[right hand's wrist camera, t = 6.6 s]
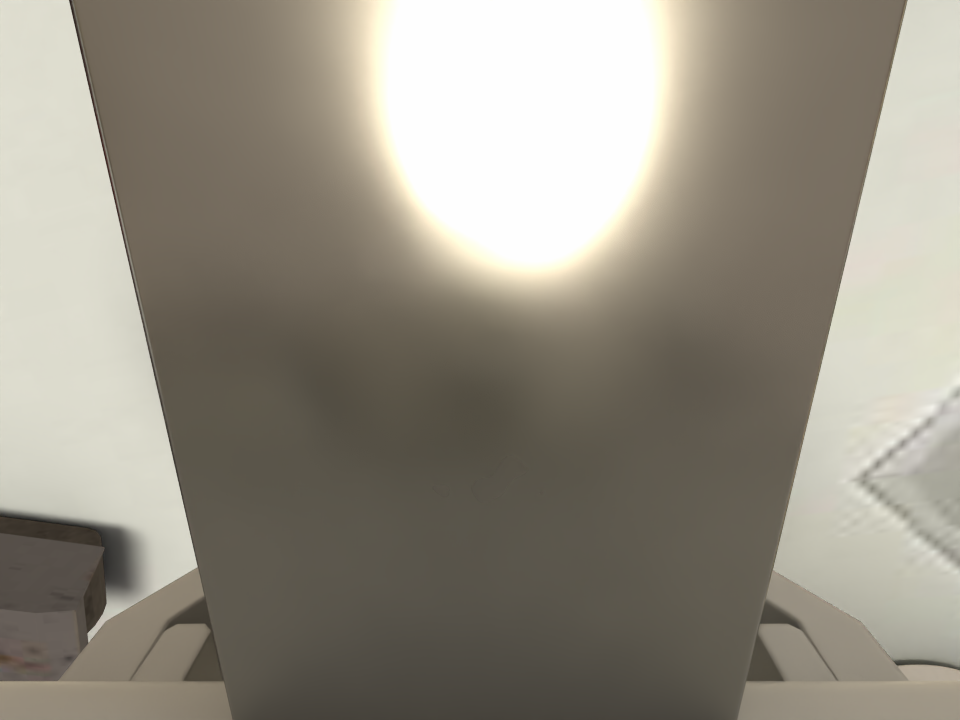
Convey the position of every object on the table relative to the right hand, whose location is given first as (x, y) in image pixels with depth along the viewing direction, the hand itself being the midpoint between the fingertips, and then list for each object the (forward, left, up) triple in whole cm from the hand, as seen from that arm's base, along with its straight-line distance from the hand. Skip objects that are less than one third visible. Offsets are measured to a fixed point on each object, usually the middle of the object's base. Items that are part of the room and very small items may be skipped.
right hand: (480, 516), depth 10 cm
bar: (+8, 0, -3) cm, 9 cm away
